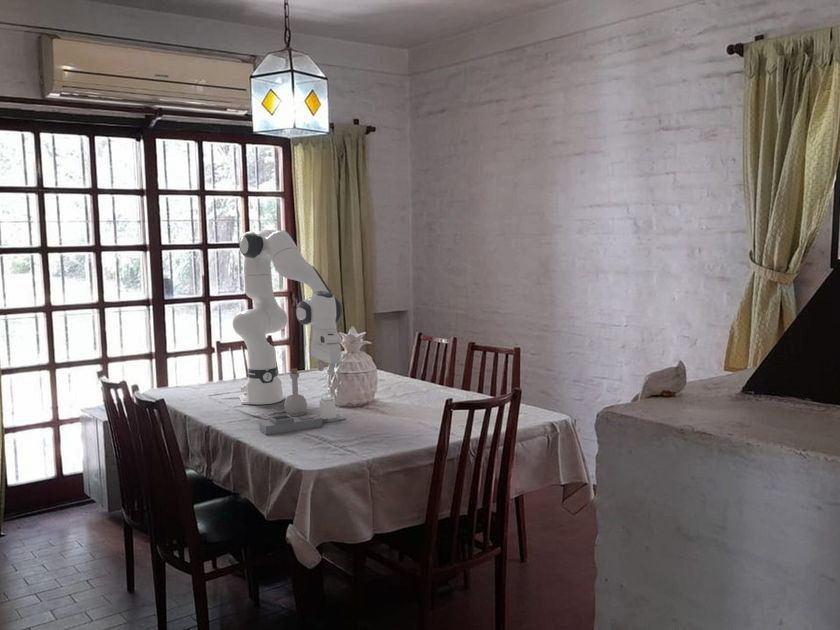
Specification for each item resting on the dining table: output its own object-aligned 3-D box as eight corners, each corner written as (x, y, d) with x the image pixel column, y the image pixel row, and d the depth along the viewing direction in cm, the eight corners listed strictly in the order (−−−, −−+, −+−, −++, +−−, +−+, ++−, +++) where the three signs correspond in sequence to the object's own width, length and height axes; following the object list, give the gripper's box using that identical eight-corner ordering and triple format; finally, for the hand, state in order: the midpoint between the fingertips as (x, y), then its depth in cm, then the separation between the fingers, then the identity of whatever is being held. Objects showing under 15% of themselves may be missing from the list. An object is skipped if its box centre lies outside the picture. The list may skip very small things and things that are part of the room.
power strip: (259, 430, 279) (259, 418, 279) (324, 421, 291) (324, 409, 291) (265, 434, 273) (265, 422, 273) (331, 424, 285) (331, 412, 284)
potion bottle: (285, 417, 299) (282, 370, 297) (284, 412, 308) (282, 366, 306) (308, 415, 301) (306, 369, 299) (307, 410, 309) (305, 365, 307)
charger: (320, 417, 295) (319, 398, 295) (331, 415, 297) (330, 396, 297) (324, 419, 291) (323, 400, 291) (335, 417, 294) (335, 398, 293)
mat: (310, 418, 296) (310, 416, 296) (335, 414, 301) (335, 413, 301) (320, 423, 288) (320, 421, 288) (345, 419, 292) (345, 418, 292)
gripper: (306, 333, 299) (307, 369, 300) (327, 339, 281) (328, 378, 282) (322, 331, 302) (323, 367, 303) (343, 338, 284) (344, 376, 286)
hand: (325, 372), depth 293 cm, fingers open, 8 cm apart
